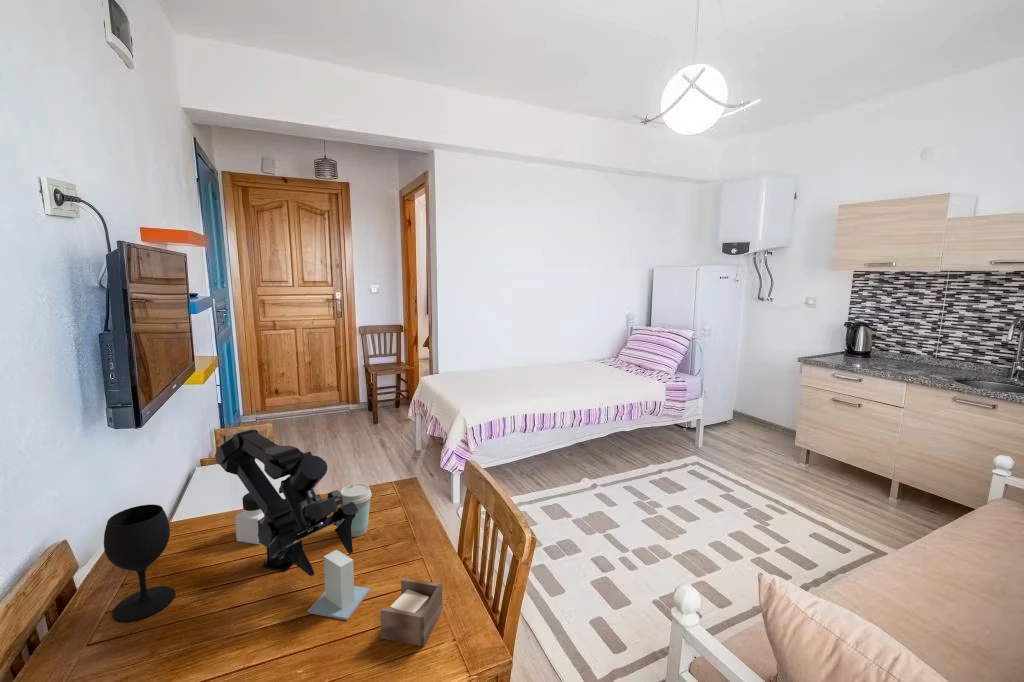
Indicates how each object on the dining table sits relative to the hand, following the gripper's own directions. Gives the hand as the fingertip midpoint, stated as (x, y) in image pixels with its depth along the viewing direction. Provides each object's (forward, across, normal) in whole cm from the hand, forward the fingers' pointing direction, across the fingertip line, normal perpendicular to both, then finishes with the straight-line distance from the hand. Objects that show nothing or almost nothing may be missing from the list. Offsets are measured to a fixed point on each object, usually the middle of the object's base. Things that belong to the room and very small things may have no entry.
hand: (332, 563), depth 96 cm
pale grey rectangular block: (+7, 0, +4) cm, 8 cm away
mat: (+7, 0, +4) cm, 8 cm away
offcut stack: (+19, +5, -8) cm, 21 cm away
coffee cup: (-7, +19, +19) cm, 27 cm away
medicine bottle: (-20, +2, +32) cm, 38 cm away
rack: (+19, +5, -8) cm, 21 cm away
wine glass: (-15, -25, +27) cm, 40 cm away
